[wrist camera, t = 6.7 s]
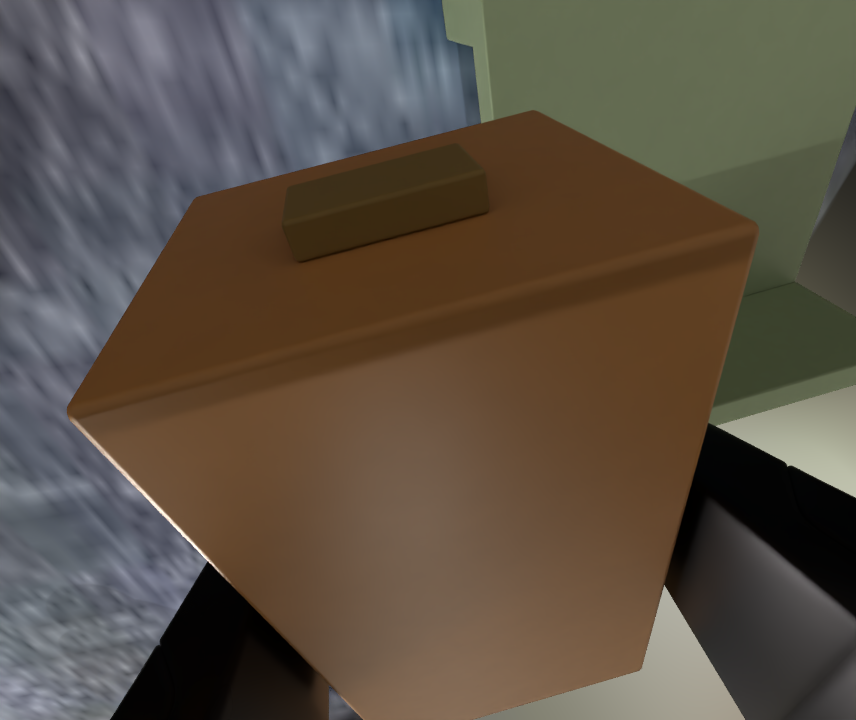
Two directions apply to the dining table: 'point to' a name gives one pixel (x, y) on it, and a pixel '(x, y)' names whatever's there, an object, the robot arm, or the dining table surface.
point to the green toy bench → (703, 139)
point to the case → (434, 406)
